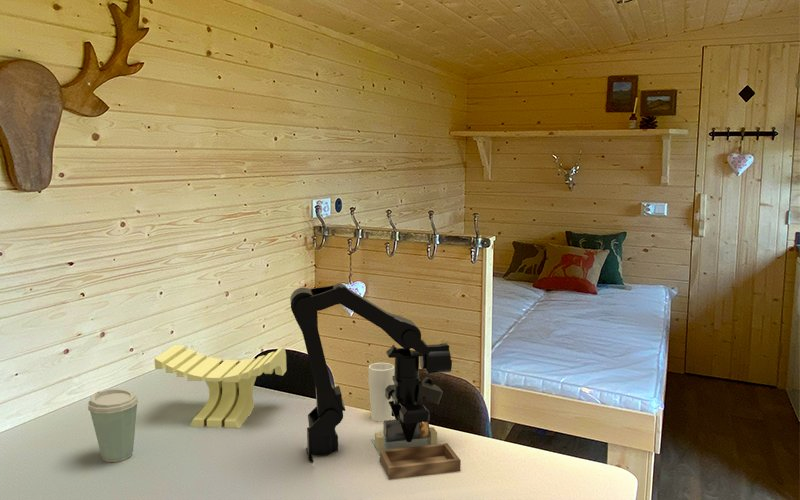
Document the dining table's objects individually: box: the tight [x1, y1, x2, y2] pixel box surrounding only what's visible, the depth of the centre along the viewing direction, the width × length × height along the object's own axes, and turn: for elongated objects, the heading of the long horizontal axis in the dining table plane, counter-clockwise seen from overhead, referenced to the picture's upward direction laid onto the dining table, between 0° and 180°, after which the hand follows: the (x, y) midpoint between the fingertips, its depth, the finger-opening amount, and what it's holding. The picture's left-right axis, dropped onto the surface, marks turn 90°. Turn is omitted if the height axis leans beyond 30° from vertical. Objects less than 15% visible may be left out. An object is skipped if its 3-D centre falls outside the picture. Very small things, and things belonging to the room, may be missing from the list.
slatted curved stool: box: [154, 344, 287, 429], centre depth 175 cm, size 30×16×18 cm, turn 85°
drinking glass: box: [368, 362, 395, 423], centre depth 172 cm, size 7×7×15 cm
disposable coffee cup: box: [87, 387, 139, 463], centre depth 150 cm, size 11×11×15 cm
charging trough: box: [379, 442, 462, 481], centre depth 145 cm, size 16×9×4 cm, turn 105°
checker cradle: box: [371, 426, 439, 457], centre depth 156 cm, size 15×9×4 cm, turn 105°
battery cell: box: [382, 418, 430, 442], centre depth 156 cm, size 10×5×5 cm, turn 104°
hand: (406, 437), depth 156 cm, fingers closed on battery cell, 5 cm apart
